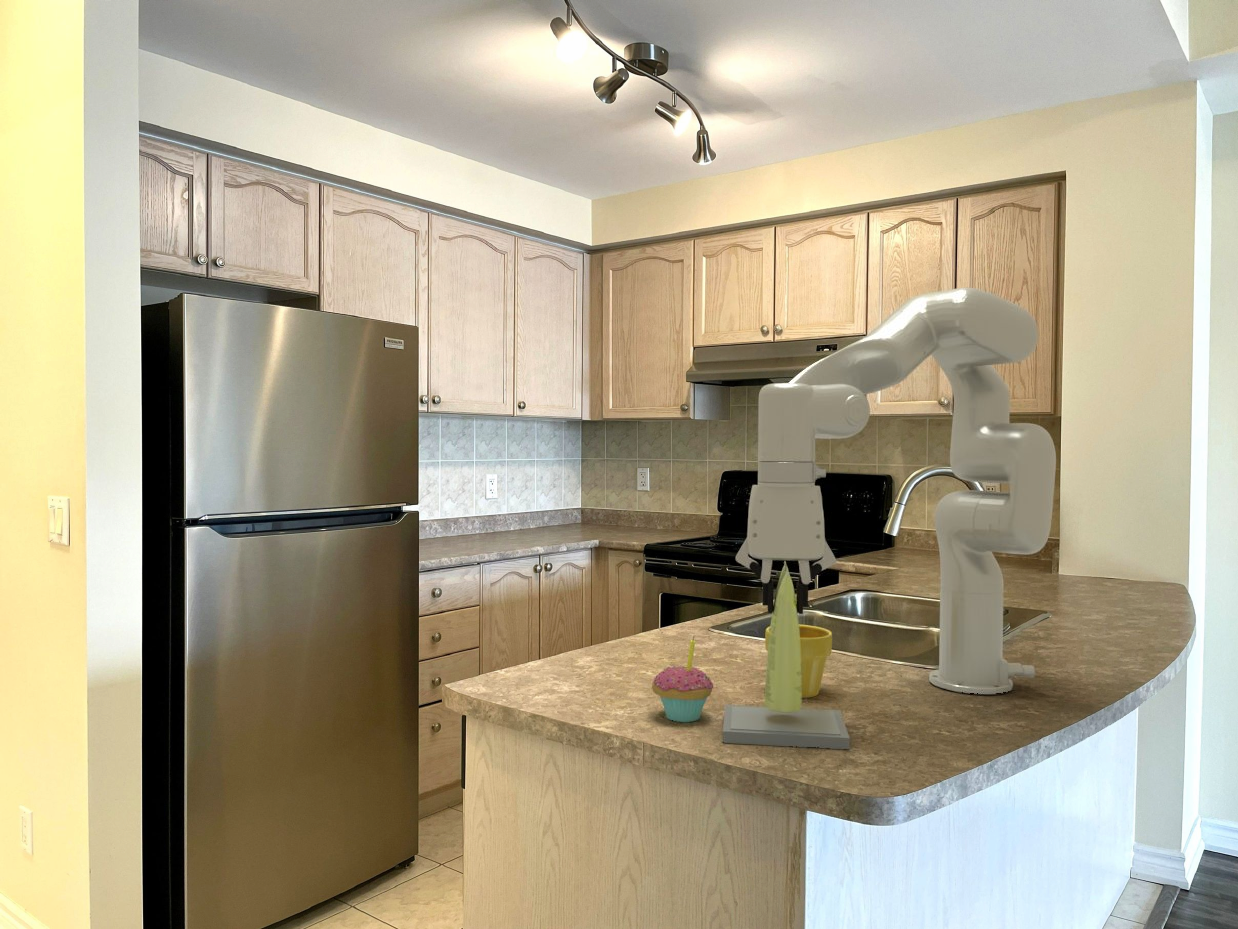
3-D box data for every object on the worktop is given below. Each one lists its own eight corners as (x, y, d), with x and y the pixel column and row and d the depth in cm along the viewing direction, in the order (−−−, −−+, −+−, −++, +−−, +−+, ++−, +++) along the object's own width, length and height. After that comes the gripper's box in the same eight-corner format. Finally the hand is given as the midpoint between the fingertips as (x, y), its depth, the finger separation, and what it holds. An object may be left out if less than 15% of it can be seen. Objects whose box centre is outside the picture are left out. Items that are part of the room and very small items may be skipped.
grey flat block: (839, 720, 123) (839, 709, 123) (849, 749, 111) (849, 737, 111) (725, 715, 125) (725, 704, 125) (722, 742, 113) (722, 730, 113)
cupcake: (724, 716, 124) (725, 632, 124) (687, 731, 118) (688, 642, 118) (677, 704, 130) (677, 624, 130) (639, 717, 124) (640, 633, 123)
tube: (813, 711, 117) (815, 565, 116) (785, 717, 114) (787, 567, 114) (783, 700, 121) (785, 560, 121) (756, 706, 119) (757, 563, 118)
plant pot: (845, 696, 135) (846, 633, 135) (794, 705, 130) (795, 639, 130) (800, 680, 144) (801, 621, 144) (751, 688, 139) (751, 627, 139)
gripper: (846, 475, 120) (844, 608, 120) (725, 474, 122) (724, 605, 122) (852, 477, 112) (851, 619, 113) (723, 475, 115) (722, 615, 115)
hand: (784, 610), depth 118 cm, fingers closed on tube, 3 cm apart
